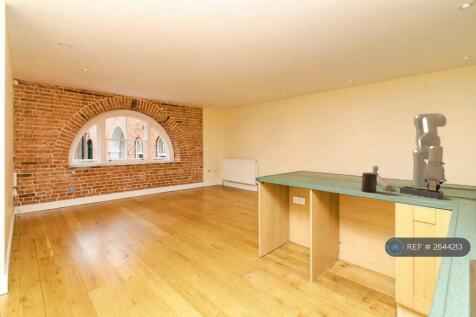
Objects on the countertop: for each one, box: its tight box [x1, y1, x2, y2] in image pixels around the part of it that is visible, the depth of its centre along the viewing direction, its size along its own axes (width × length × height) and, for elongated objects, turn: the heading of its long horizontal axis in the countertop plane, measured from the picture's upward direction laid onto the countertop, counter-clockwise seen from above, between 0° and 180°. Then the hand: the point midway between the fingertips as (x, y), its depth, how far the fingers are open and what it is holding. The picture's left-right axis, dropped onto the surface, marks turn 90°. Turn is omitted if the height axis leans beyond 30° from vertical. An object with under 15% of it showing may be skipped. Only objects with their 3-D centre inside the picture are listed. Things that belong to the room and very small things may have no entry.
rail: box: [399, 185, 445, 200], centre depth 160 cm, size 9×22×4 cm, turn 32°
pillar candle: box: [361, 171, 378, 194], centre depth 172 cm, size 10×10×15 cm
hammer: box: [371, 165, 393, 192], centre depth 188 cm, size 16×5×30 cm
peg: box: [429, 180, 437, 191], centre depth 162 cm, size 4×4×10 cm
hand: (433, 189), depth 162 cm, fingers closed on peg, 4 cm apart
